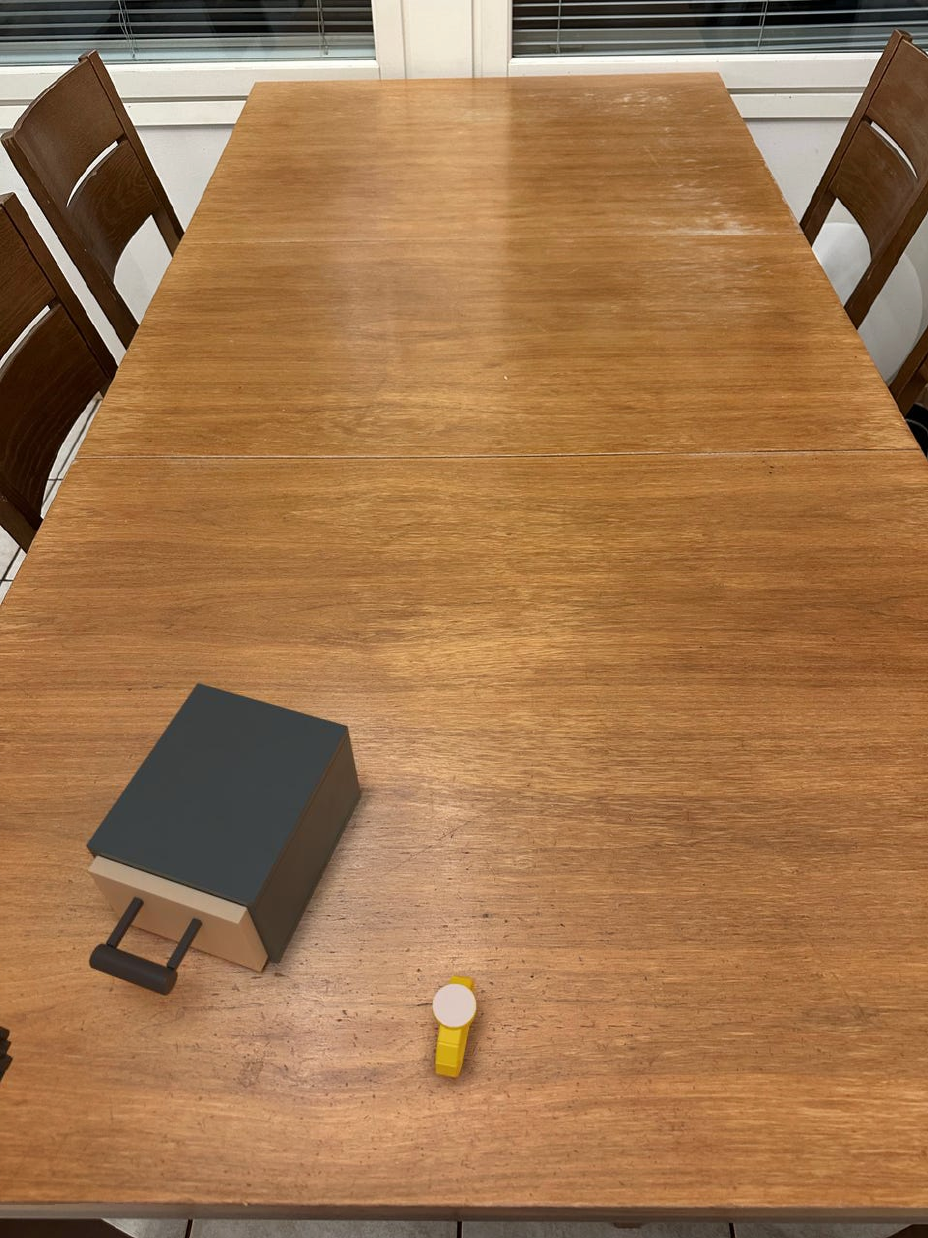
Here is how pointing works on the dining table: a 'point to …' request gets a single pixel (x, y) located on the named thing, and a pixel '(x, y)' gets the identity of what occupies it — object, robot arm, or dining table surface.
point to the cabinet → (238, 806)
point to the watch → (453, 1023)
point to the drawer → (169, 925)
